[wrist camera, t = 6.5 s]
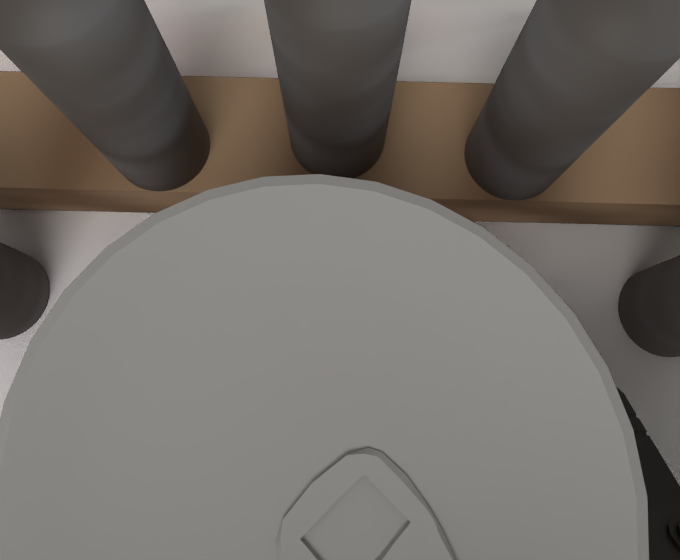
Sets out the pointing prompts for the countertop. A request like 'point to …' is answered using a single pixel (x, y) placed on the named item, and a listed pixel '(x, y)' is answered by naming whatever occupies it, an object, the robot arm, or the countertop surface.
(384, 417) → the canned food
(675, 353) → the spacer rack
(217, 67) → the countertop surface
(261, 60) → the countertop surface
